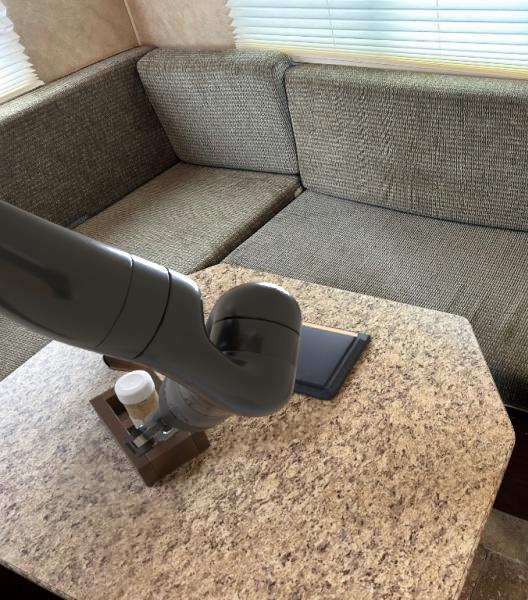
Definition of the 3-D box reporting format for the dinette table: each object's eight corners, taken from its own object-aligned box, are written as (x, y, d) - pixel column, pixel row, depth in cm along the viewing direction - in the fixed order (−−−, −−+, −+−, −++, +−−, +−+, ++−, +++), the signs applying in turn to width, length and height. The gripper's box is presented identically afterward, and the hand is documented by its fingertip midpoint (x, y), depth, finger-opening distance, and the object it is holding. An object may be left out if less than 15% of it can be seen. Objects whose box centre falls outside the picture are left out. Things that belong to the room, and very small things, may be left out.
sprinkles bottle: (184, 451, 85) (152, 386, 77) (151, 465, 84) (115, 400, 76) (179, 429, 89) (147, 364, 80) (147, 441, 87) (111, 377, 79)
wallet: (217, 365, 96) (270, 306, 106) (220, 373, 97) (272, 314, 108) (327, 396, 89) (372, 330, 99) (329, 405, 90) (373, 338, 100)
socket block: (147, 487, 81) (137, 470, 79) (99, 418, 92) (88, 400, 89) (211, 445, 86) (203, 427, 83) (158, 383, 96) (149, 366, 94)
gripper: (234, 321, 65) (199, 357, 79) (119, 406, 57) (101, 430, 70) (278, 374, 66) (236, 401, 79) (171, 466, 58) (143, 479, 71)
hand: (173, 415), depth 75 cm, fingers open, 8 cm apart
